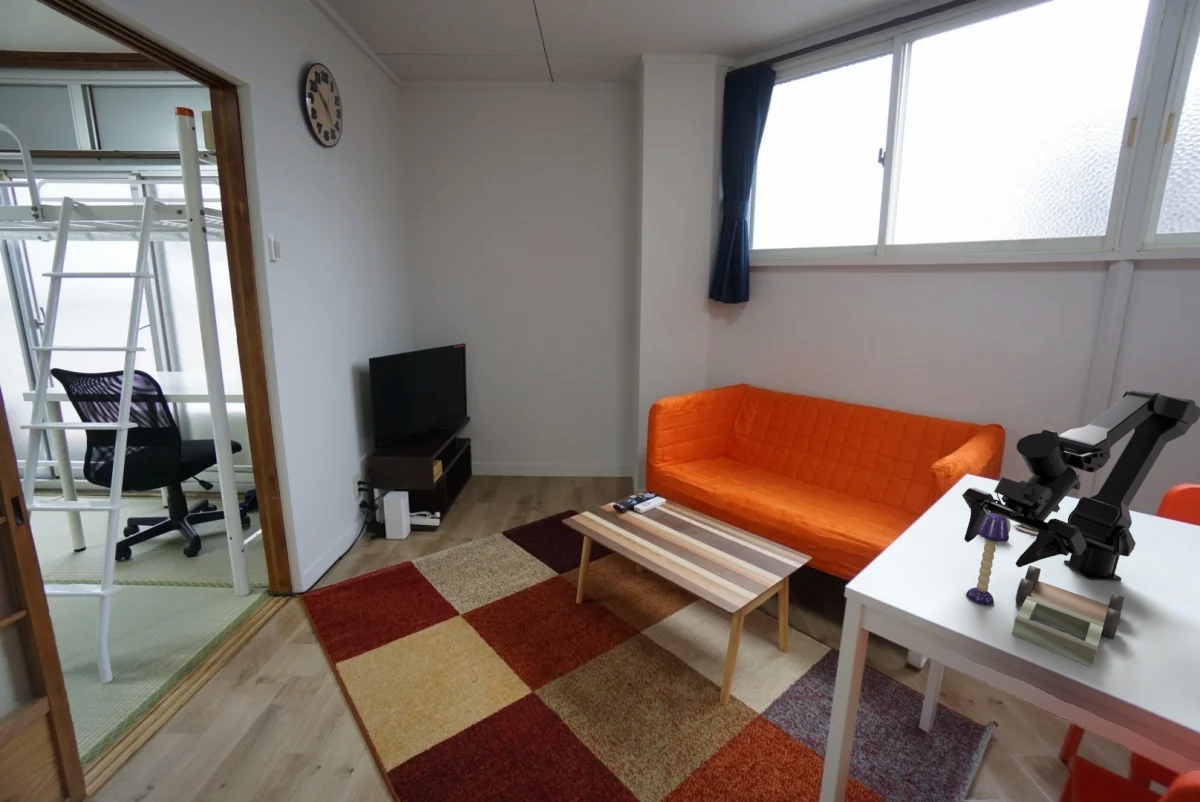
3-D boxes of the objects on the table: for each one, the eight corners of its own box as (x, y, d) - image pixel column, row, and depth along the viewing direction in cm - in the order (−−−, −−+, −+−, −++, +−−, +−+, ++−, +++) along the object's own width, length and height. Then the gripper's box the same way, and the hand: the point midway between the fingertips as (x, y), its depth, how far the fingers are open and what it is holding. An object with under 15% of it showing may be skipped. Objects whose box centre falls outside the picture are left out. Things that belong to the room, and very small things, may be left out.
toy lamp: (958, 591, 99) (974, 510, 95) (980, 590, 99) (998, 510, 95) (978, 606, 94) (996, 522, 90) (1001, 605, 94) (1020, 522, 91)
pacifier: (1050, 541, 120) (1051, 531, 125) (1057, 516, 119) (1057, 507, 123) (1011, 530, 125) (1013, 521, 129) (1016, 507, 123) (1018, 498, 128)
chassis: (1026, 582, 102) (1031, 562, 101) (1119, 614, 93) (1125, 592, 92) (999, 629, 88) (1005, 606, 87) (1106, 673, 78) (1113, 648, 77)
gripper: (978, 448, 101) (926, 506, 100) (1092, 483, 84) (1031, 553, 83) (998, 482, 105) (948, 538, 104) (1110, 521, 88) (1053, 589, 87)
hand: (990, 552), depth 95 cm, fingers open, 9 cm apart
